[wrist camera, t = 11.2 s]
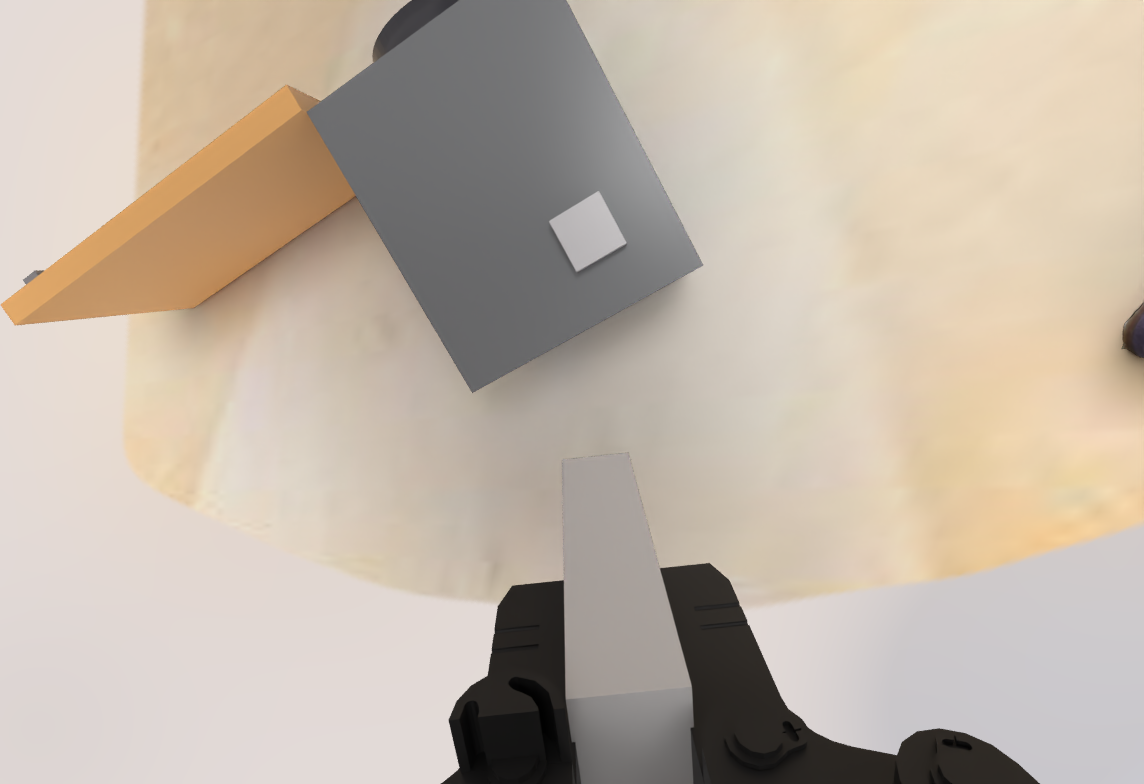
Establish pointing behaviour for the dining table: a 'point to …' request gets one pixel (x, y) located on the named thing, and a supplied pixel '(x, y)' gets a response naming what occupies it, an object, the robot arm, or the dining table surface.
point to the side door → (198, 222)
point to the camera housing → (503, 178)
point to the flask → (1135, 333)
